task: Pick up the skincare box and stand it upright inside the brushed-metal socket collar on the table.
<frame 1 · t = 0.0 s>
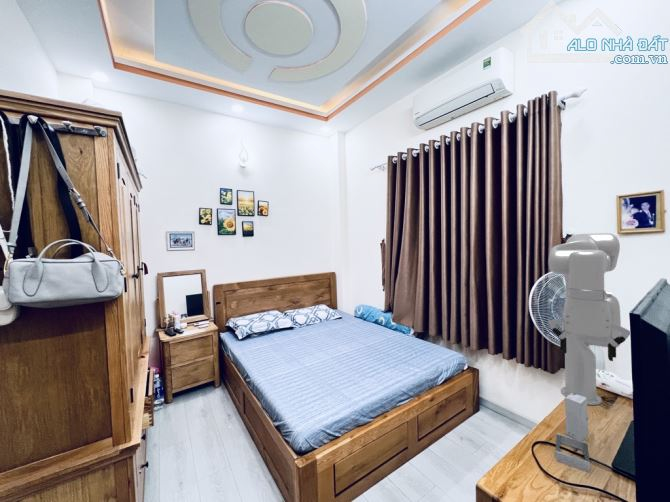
hand: (586, 355, 80), 31 cm above the cabinet, tool pointing down, fingers open, 9 cm apart
socket collar: (571, 455, 85), on the cabinet
skincare box: (576, 434, 94), on the cabinet
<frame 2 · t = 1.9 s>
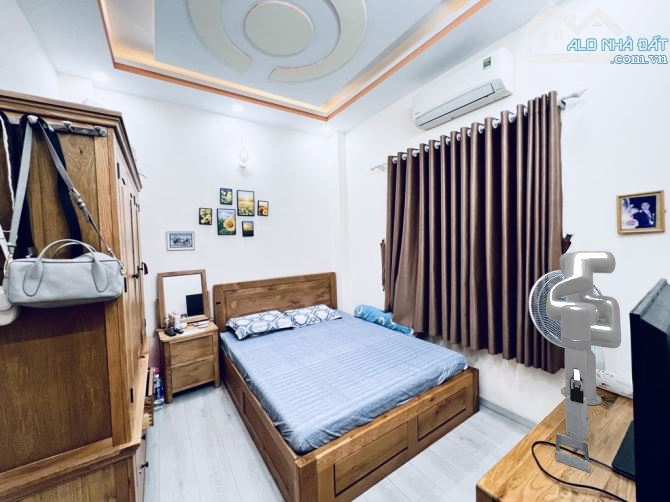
hand: (576, 395, 93), 13 cm above the cabinet, tool pointing down, fingers open, 9 cm apart
nothing on the cabinet moved.
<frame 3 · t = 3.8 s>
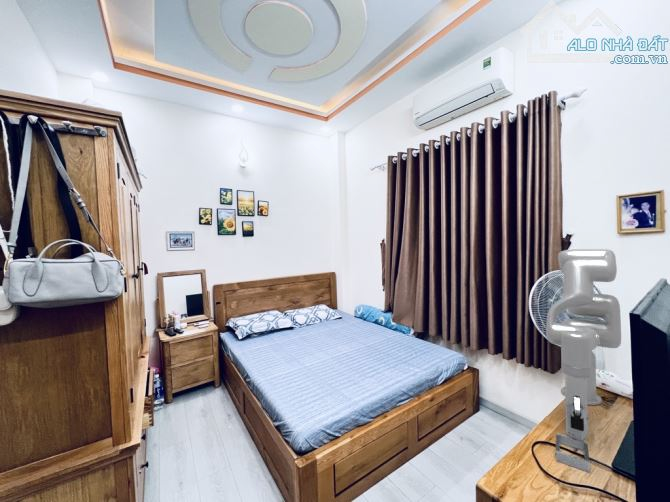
hand: (576, 422, 94), 4 cm above the cabinet, tool pointing down, fingers closed on skincare box, 6 cm apart
skincare box: (576, 434, 94), on the cabinet, touching gripper
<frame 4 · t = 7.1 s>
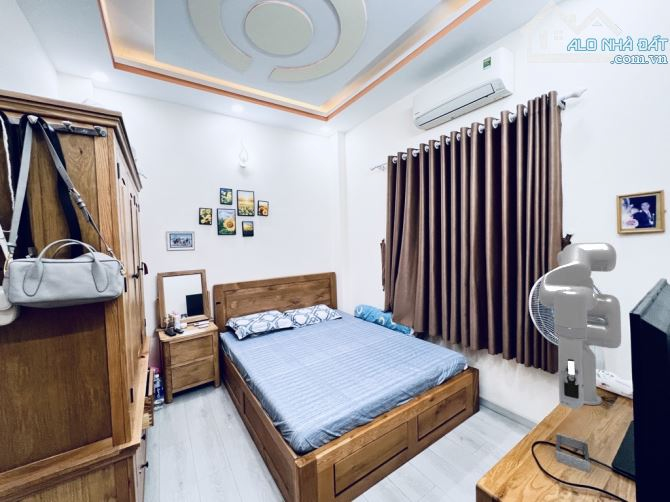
hand: (571, 390, 84), 19 cm above the cabinet, tool pointing down, fingers closed on skincare box, 6 cm apart
skincare box: (571, 404, 85), point 15 cm above the cabinet, touching gripper
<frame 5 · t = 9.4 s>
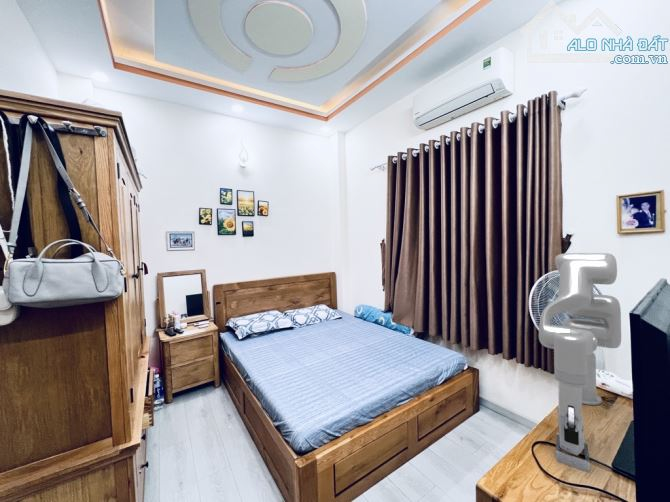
hand: (571, 435, 85), 6 cm above the cabinet, tool pointing down, fingers closed on skincare box, 6 cm apart
skincare box: (571, 448, 85), point 2 cm above the cabinet, touching gripper, socket collar
when the fingers open (6 cm above the cabinet, at t = 10.6 s): skincare box drops 2 cm, resting in socket collar.
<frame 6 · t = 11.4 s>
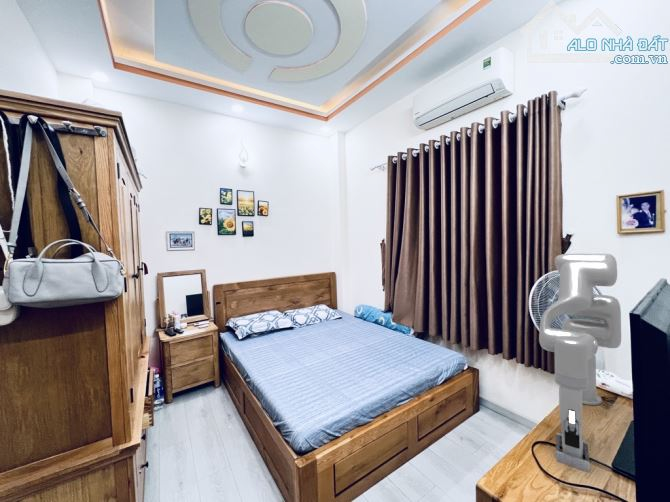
hand: (571, 436, 85), 6 cm above the cabinet, tool pointing down, fingers open, 9 cm apart
skincare box: (572, 456, 84), resting in socket collar
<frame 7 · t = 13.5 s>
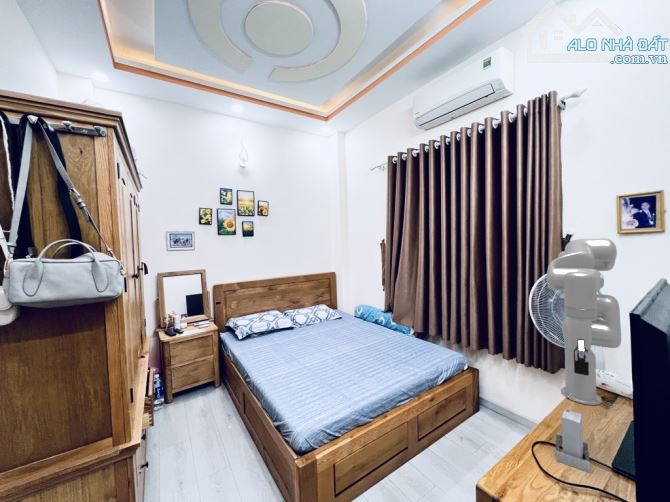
hand: (580, 367, 87), 25 cm above the cabinet, tool pointing down, fingers open, 9 cm apart
nothing on the cabinet moved.
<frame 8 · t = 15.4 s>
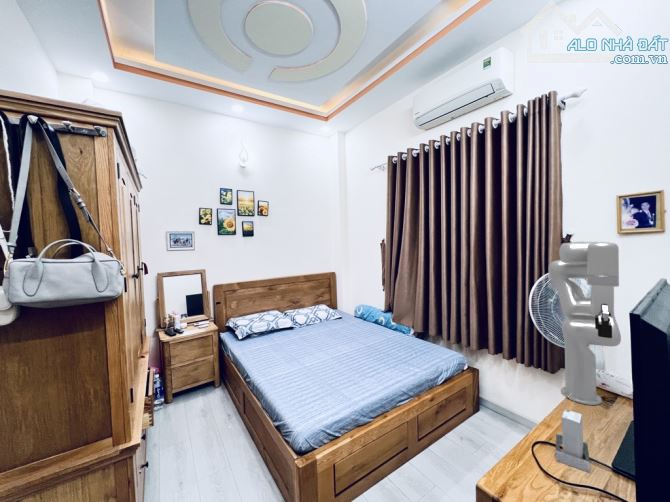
hand: (603, 333, 93), 33 cm above the cabinet, tool pointing down, fingers open, 9 cm apart
nothing on the cabinet moved.
at the end: skincare box 0.3 cm off-centre on the socket collar, point 0.0 cm above the socket collar's base; skincare box tilted 0°; the gripper is holding nothing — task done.
